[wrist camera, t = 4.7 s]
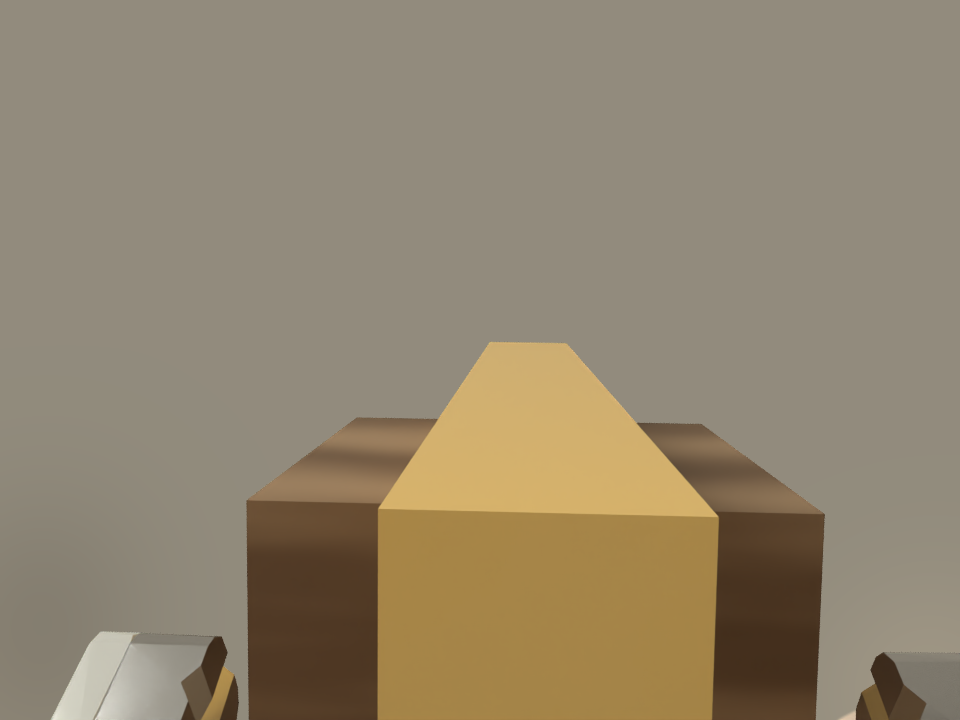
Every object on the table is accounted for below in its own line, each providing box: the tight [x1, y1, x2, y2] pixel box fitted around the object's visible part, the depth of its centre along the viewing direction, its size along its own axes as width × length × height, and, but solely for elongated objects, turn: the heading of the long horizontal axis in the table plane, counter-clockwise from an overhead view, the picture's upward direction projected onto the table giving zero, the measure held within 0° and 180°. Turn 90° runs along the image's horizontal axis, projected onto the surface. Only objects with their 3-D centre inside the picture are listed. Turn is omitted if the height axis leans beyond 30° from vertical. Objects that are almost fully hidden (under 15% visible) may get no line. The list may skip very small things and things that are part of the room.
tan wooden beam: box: [378, 342, 719, 720], centre depth 21 cm, size 26×3×2 cm, turn 177°
